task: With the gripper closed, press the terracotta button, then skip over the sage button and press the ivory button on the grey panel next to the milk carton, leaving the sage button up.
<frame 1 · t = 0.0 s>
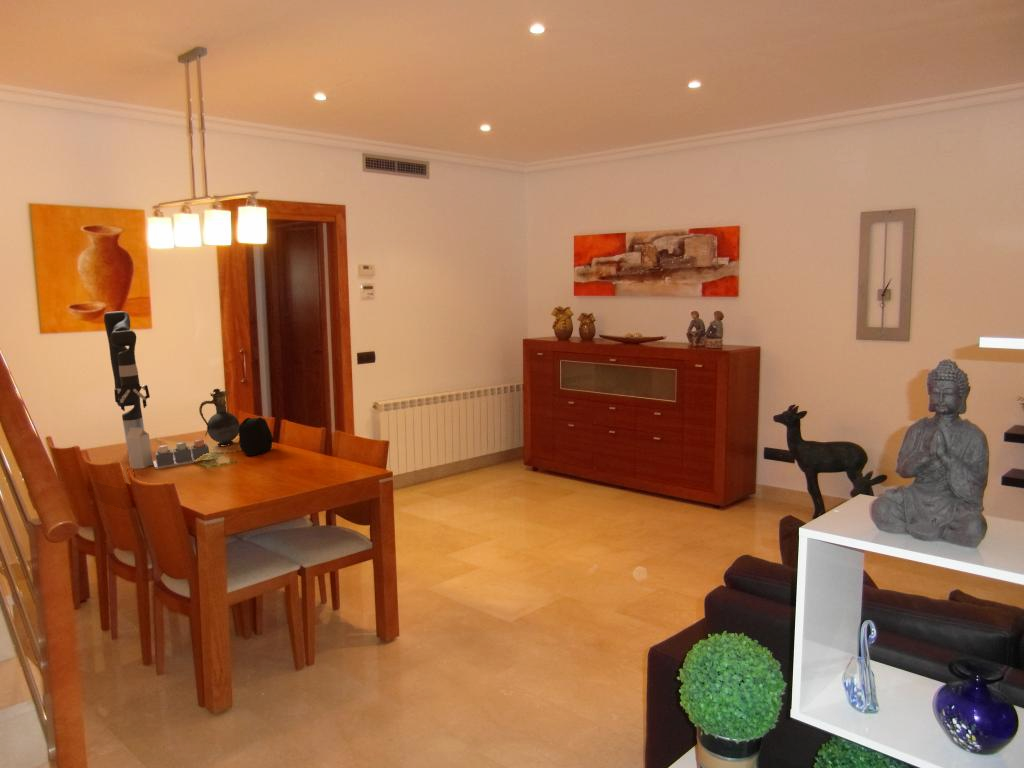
hand: (134, 409, 352), 29 cm above the table, fingers open, 8 cm apart
button terracotta: (199, 445, 373), point 6 cm above the table, slide at 0.0 cm
milk carton: (142, 467, 365), on the table
pitcher: (222, 445, 397), on the table
button ivory: (163, 451, 365), point 6 cm above the table, slide at 0.0 cm
black rounded dome: (257, 452, 379), on the table
button sage: (181, 448, 369), point 6 cm above the table, slide at 0.0 cm
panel: (183, 461, 370), on the table
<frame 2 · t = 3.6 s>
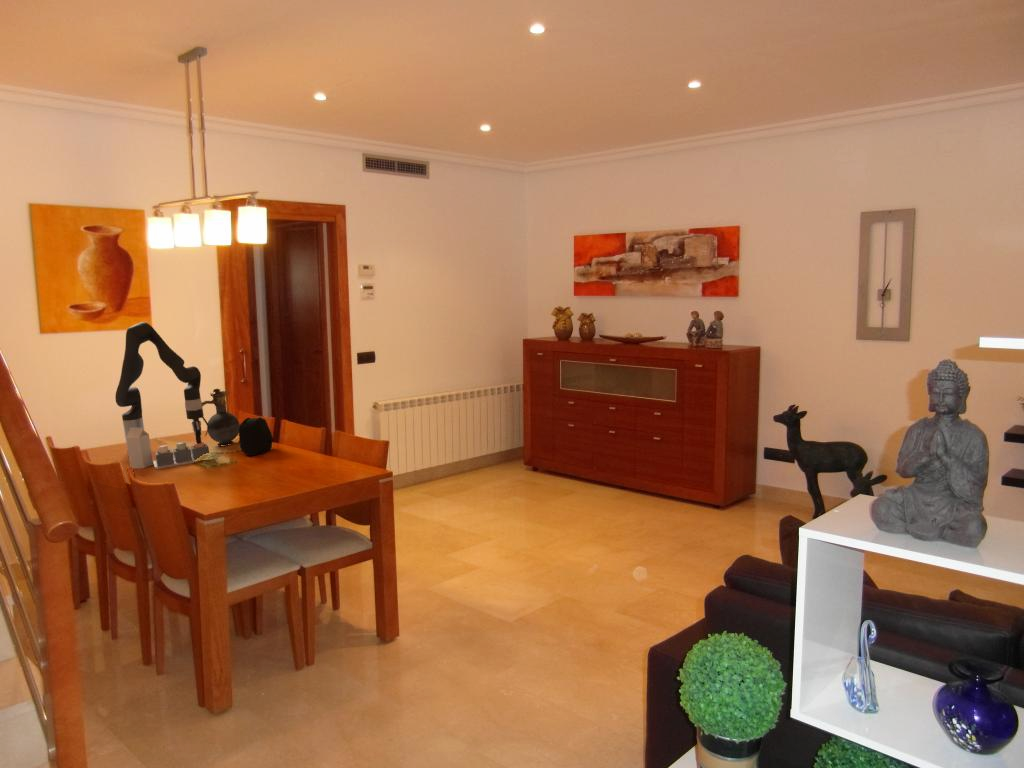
hand: (198, 443, 372), 8 cm above the table, fingers closed
button terracotta: (199, 448, 373), point 5 cm above the table, slide at -1.3 cm, touching gripper
everything else where it was.
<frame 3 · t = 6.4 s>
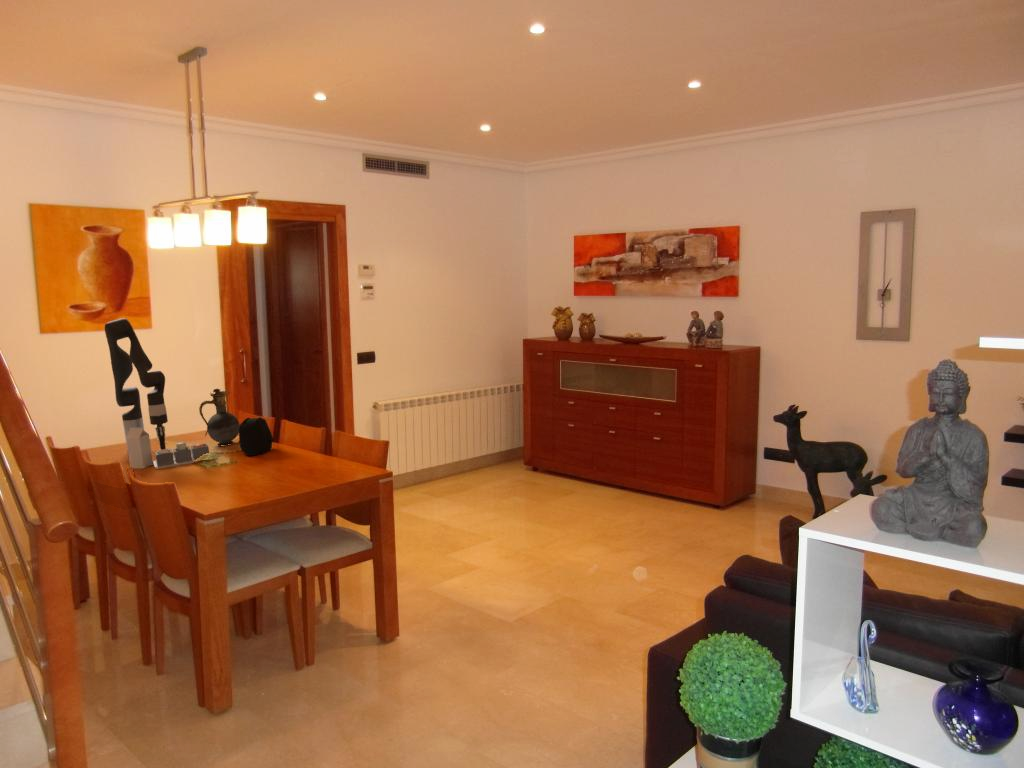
hand: (163, 448, 365), 8 cm above the table, fingers closed
button terracotta: (199, 449, 373), point 4 cm above the table, slide at -2.0 cm
button ivory: (164, 454, 366), point 5 cm above the table, slide at -1.3 cm, touching gripper
everything else where it was.
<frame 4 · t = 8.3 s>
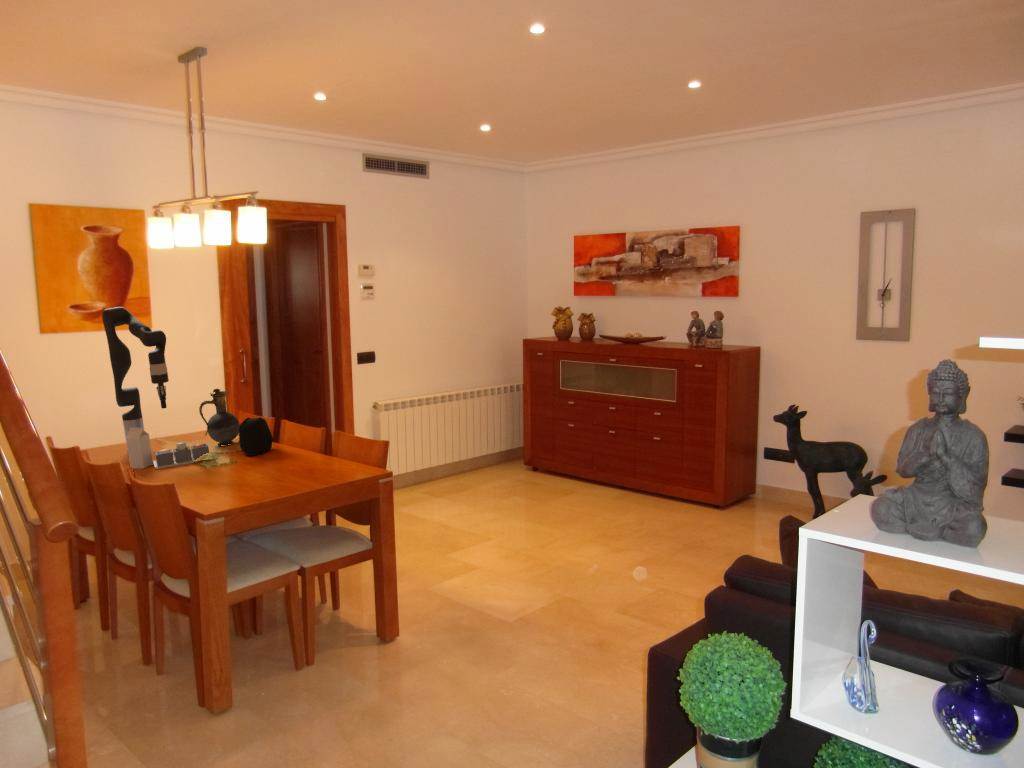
hand: (164, 408, 369), 26 cm above the table, fingers closed
button ivory: (164, 455, 366), point 4 cm above the table, slide at -2.0 cm
everything else where it was.
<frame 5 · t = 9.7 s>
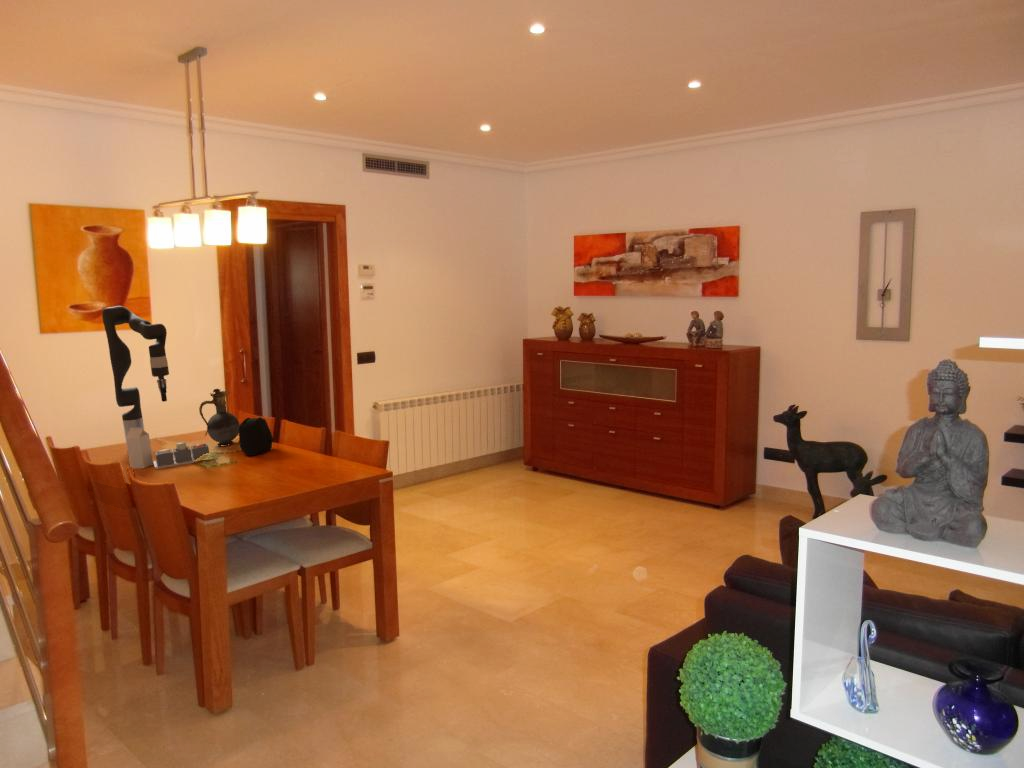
hand: (164, 401, 370), 29 cm above the table, fingers closed
nothing on the table moved.
at the end: button terracotta slide at -2.0 cm; button ivory slide at -2.0 cm; button sage slide at 0.0 cm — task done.
